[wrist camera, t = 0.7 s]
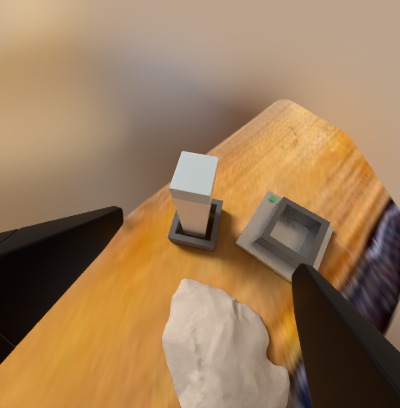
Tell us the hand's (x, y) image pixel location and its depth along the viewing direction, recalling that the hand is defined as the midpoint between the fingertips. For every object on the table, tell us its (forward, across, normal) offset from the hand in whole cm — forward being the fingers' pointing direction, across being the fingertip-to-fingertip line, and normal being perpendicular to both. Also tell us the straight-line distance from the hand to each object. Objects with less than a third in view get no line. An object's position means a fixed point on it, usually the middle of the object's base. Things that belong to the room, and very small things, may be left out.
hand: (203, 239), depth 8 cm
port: (+14, -10, +8) cm, 19 cm away
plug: (+12, +2, +9) cm, 15 cm away
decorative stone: (+3, -4, +16) cm, 17 cm away
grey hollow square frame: (+12, +2, +9) cm, 15 cm away
